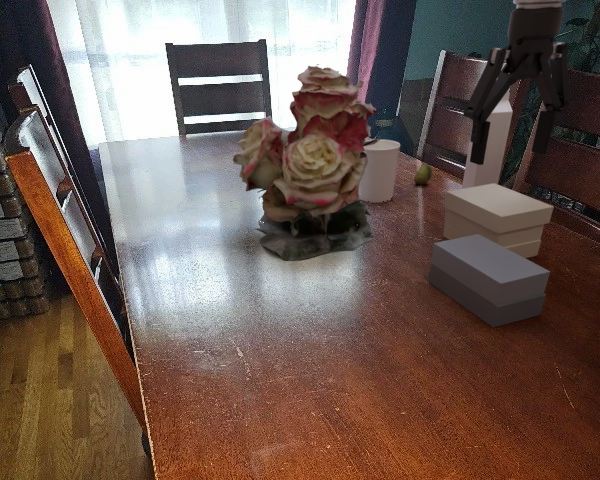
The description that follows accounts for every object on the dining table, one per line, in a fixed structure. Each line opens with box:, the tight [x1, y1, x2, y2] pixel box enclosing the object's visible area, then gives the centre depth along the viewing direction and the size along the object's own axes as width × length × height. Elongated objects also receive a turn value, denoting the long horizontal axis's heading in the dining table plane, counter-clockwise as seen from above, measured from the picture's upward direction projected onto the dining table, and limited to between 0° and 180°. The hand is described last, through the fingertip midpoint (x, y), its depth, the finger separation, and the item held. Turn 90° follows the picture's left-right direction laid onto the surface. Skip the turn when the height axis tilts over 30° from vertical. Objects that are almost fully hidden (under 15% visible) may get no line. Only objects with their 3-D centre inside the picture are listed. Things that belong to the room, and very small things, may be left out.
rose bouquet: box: [232, 63, 381, 261], centre depth 97 cm, size 26×29×30 cm
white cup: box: [358, 139, 401, 204], centre depth 121 cm, size 10×10×12 cm
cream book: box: [443, 183, 554, 234], centre depth 96 cm, size 16×12×3 cm
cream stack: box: [442, 208, 545, 259], centre depth 98 cm, size 16×10×6 cm, turn 23°
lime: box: [413, 163, 433, 185], centre depth 131 cm, size 4×5×5 cm
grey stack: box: [428, 234, 551, 329], centre depth 81 cm, size 17×9×7 cm, turn 23°
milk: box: [461, 91, 514, 189], centre depth 115 cm, size 6×6×22 cm
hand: (508, 158), depth 90 cm, fingers open, 13 cm apart
